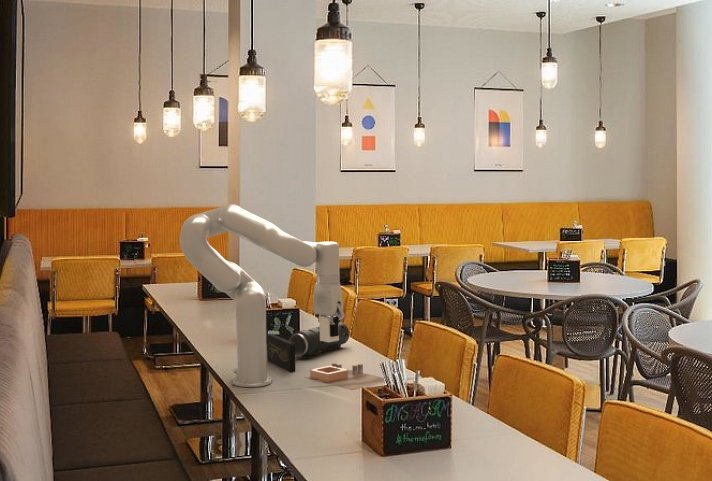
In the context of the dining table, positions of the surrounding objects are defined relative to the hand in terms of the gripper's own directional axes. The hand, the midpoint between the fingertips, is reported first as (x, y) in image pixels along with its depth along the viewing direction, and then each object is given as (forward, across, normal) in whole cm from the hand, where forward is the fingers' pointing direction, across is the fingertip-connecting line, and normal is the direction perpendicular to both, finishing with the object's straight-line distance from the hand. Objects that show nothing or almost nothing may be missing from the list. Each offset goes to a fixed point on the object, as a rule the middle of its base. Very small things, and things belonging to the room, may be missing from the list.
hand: (329, 334), depth 291 cm
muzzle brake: (+16, -35, +26) cm, 46 cm away
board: (+15, +6, +3) cm, 16 cm away
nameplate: (+15, -28, +2) cm, 32 cm away
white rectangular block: (+2, 0, 0) cm, 2 cm away
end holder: (+15, 0, 0) cm, 15 cm away
